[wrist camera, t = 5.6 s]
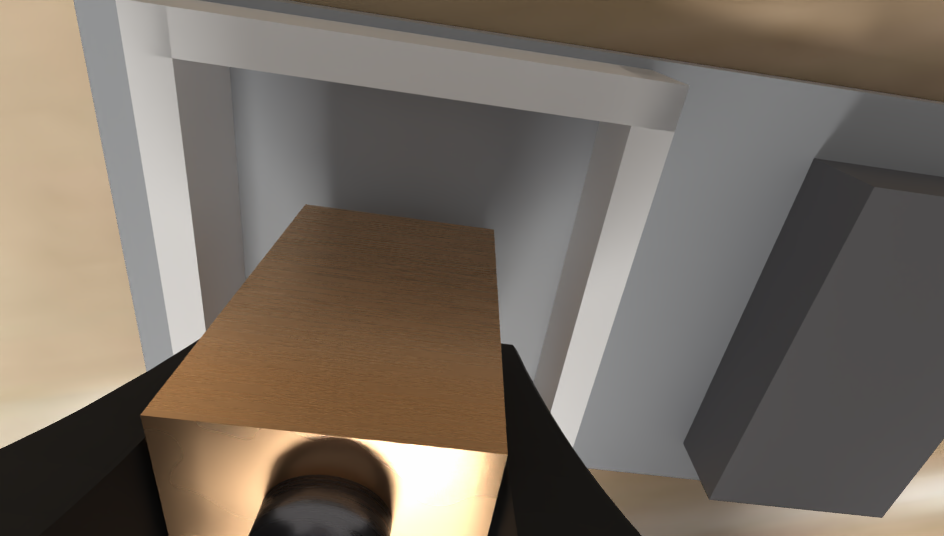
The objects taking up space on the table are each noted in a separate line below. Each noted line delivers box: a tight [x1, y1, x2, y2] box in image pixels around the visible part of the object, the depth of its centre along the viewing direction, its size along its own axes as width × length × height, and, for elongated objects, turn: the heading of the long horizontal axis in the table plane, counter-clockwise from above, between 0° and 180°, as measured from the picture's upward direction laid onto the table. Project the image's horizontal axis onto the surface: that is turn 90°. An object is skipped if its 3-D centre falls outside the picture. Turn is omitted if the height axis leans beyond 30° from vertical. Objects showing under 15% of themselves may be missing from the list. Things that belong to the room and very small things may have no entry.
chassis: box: [74, 0, 944, 518], centre depth 13 cm, size 22×12×3 cm, turn 82°
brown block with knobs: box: [140, 204, 508, 536], centre depth 9 cm, size 4×6×7 cm
